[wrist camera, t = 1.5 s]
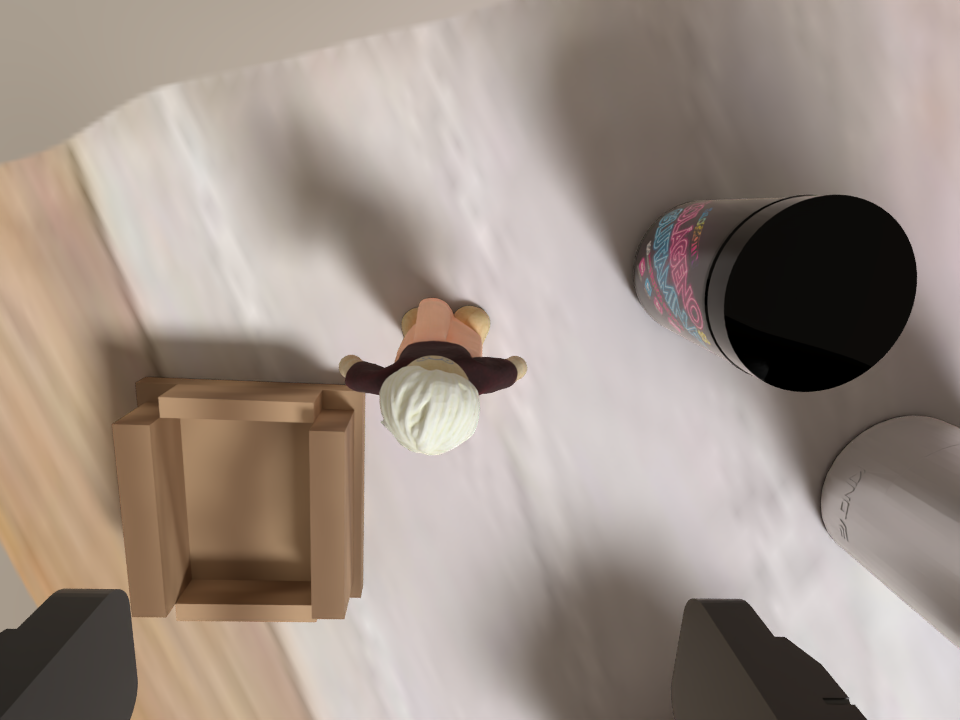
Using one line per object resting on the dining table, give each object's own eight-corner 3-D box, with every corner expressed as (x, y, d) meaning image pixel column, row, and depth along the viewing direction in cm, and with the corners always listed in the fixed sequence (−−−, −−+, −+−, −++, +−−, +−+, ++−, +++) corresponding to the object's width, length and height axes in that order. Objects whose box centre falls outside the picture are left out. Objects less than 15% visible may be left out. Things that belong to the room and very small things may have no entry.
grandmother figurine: (502, 281, 29) (544, 334, 17) (514, 354, 30) (562, 453, 18) (352, 309, 29) (285, 382, 17) (369, 381, 30) (317, 499, 18)
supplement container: (703, 169, 28) (844, 147, 18) (783, 267, 30) (954, 298, 20) (601, 266, 29) (682, 297, 19) (683, 357, 31) (799, 430, 21)
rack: (365, 385, 30) (353, 411, 26) (362, 586, 33) (352, 636, 29) (145, 376, 29) (100, 402, 25) (163, 583, 32) (125, 634, 28)
